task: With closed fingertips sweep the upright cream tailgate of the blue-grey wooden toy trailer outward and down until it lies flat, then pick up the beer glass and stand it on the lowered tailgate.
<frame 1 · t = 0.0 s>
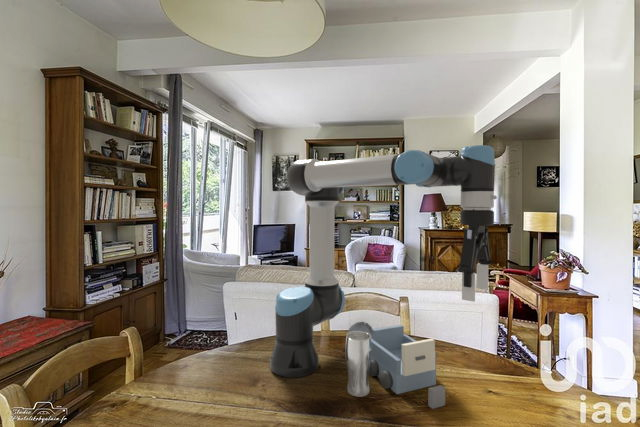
hand: (475, 294, 82), 28 cm above the table, fingers open, 13 cm apart
canned food: (360, 350, 115), on the table
trailer: (403, 378, 96), on the table
beer glass: (358, 391, 89), on the table
tailgate: (419, 357, 89), point 9 cm above the table, hinge at -3.0°
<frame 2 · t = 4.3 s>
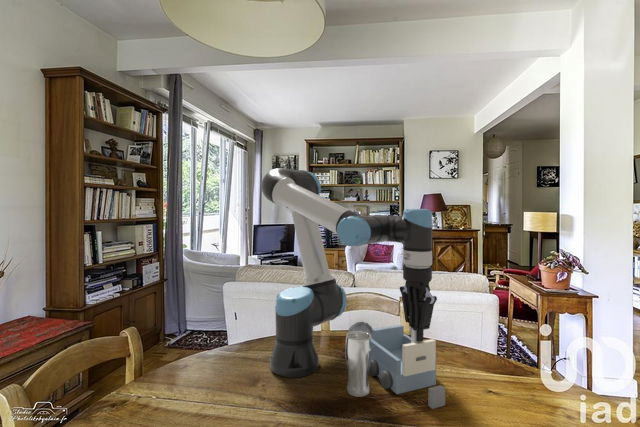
hand: (416, 351, 90), 10 cm above the table, fingers closed
tailgate: (419, 357, 89), point 9 cm above the table, hinge at 0.2°, touching gripper
everything else where it was.
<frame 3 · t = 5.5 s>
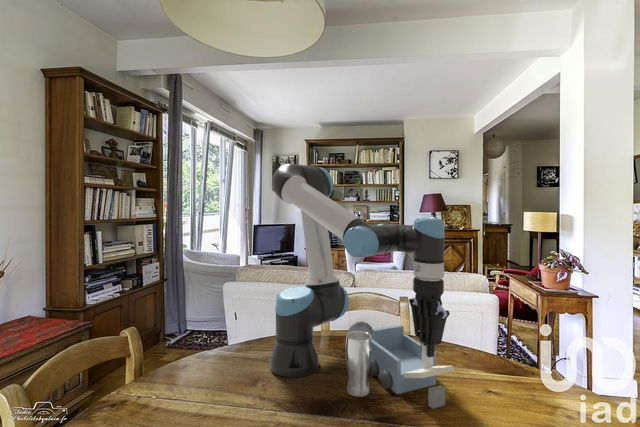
hand: (427, 367, 86), 8 cm above the table, fingers closed
tailgate: (428, 372, 86), point 7 cm above the table, hinge at 64.3°, touching gripper
everything else where it was.
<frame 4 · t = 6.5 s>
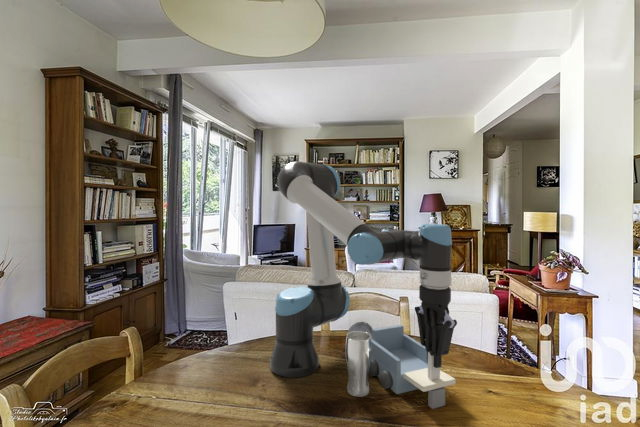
hand: (433, 377, 84), 6 cm above the table, fingers closed
tailgate: (429, 378, 85), point 5 cm above the table, hinge at 86.7°, touching gripper
everything else where it was.
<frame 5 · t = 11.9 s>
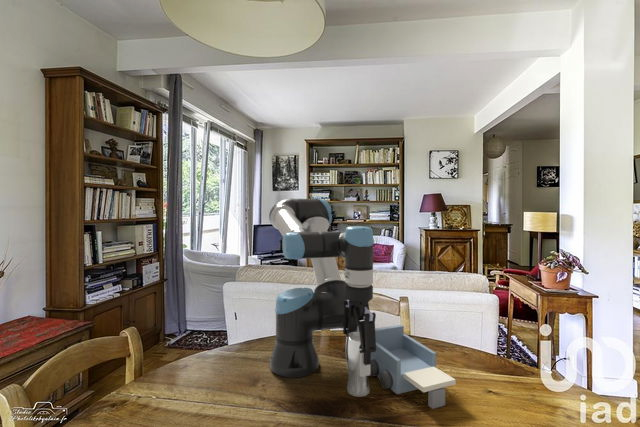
hand: (358, 368, 89), 6 cm above the table, fingers closed on beer glass, 7 cm apart
beer glass: (358, 391, 89), on the table, touching gripper
tailgate: (429, 379, 85), point 5 cm above the table, hinge at 87.6°
everything else where it was.
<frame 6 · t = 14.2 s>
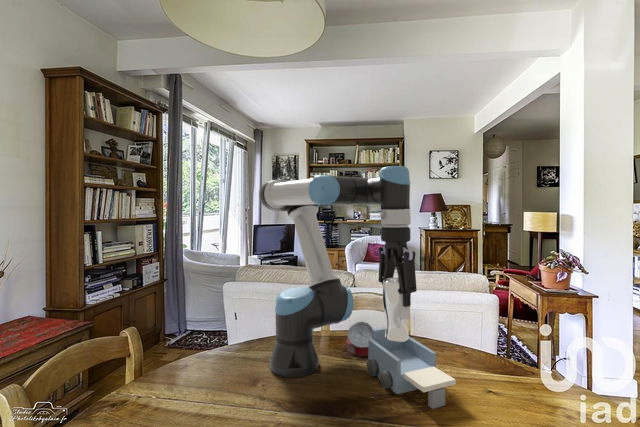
hand: (396, 314, 86), 22 cm above the table, fingers closed on beer glass, 7 cm apart
beer glass: (396, 338, 86), point 16 cm above the table, touching gripper
everything else where it was.
when the fingers open (13 cm above the table, at t = 16.7 s): beer glass stays where it is, resting on tailgate.
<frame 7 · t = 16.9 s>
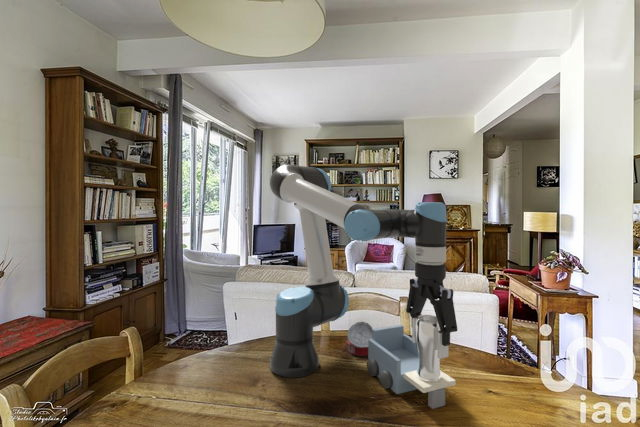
hand: (429, 349, 85), 13 cm above the table, fingers open, 9 cm apart
beer glass: (428, 377, 85), point 6 cm above the table, touching tailgate
tailgate: (429, 379, 85), point 5 cm above the table, hinge at 88.9°, touching beer glass
everything else where it was.
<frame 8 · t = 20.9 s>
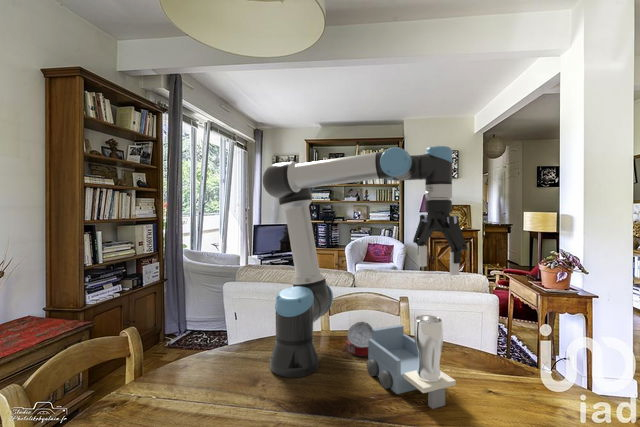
hand: (437, 270, 99), 31 cm above the table, fingers open, 13 cm apart
tailgate: (429, 379, 85), point 5 cm above the table, hinge at 89.2°, touching beer glass
everything else where it was.
at the end: tailgate at +89° (first picture: -3°); beer glass touching tailgate; beer glass tilted 1° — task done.
